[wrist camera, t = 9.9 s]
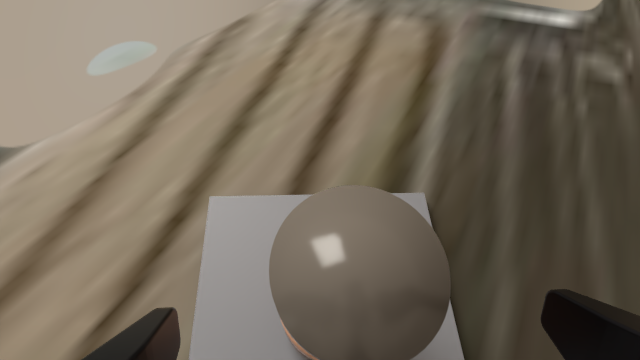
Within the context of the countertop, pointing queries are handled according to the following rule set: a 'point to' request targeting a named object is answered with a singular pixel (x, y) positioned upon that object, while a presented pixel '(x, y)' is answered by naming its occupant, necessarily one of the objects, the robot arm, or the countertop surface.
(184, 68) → the countertop surface
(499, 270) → the countertop surface
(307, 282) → the terracotta jar
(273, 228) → the gray board
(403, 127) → the countertop surface
